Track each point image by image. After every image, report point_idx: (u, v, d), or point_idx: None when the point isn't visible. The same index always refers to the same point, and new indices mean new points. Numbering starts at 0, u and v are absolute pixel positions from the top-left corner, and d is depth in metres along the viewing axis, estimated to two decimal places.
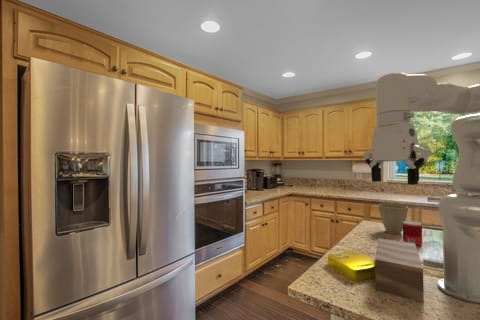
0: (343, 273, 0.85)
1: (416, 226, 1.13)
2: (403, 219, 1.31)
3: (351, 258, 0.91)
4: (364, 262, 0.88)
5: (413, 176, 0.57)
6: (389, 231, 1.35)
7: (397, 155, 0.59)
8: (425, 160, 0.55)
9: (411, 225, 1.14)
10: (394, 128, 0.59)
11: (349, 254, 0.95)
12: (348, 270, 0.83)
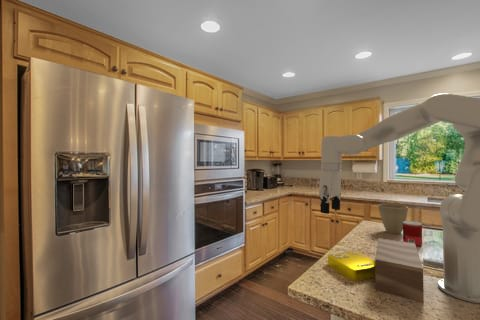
0: (343, 273, 0.85)
1: (416, 226, 1.13)
2: (403, 219, 1.31)
3: (351, 258, 0.91)
4: (364, 262, 0.88)
5: None
6: (389, 231, 1.35)
7: (339, 192, 0.89)
8: None
9: (411, 225, 1.14)
10: (339, 174, 0.89)
11: (349, 254, 0.95)
12: (348, 270, 0.83)
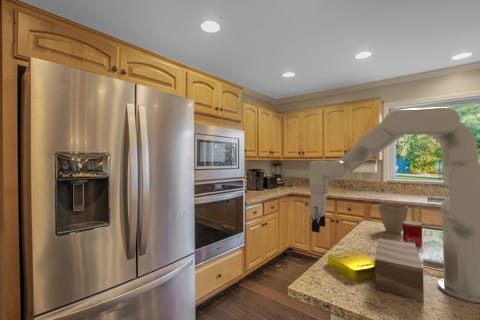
0: (343, 273, 0.85)
1: (416, 226, 1.13)
2: (403, 219, 1.31)
3: (351, 258, 0.91)
4: (364, 262, 0.88)
5: None
6: (389, 231, 1.35)
7: (325, 211, 0.99)
8: None
9: (411, 225, 1.14)
10: (325, 195, 0.98)
11: (349, 254, 0.95)
12: (348, 270, 0.83)
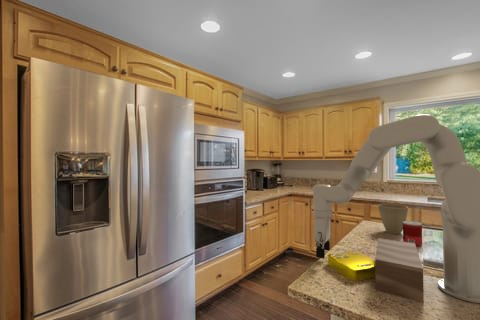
0: (343, 273, 0.85)
1: (416, 226, 1.13)
2: (403, 219, 1.30)
3: (351, 258, 0.91)
4: (364, 262, 0.88)
5: None
6: (389, 231, 1.35)
7: (329, 235, 0.98)
8: None
9: (411, 225, 1.14)
10: (329, 219, 0.97)
11: (349, 254, 0.95)
12: (348, 270, 0.83)
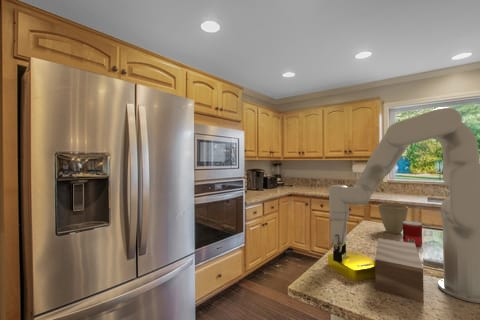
0: (343, 273, 0.85)
1: (416, 226, 1.13)
2: (403, 219, 1.31)
3: (351, 258, 0.91)
4: (364, 262, 0.88)
5: None
6: (389, 231, 1.35)
7: (346, 237, 0.94)
8: None
9: (411, 225, 1.14)
10: None
11: (349, 254, 0.95)
12: (348, 270, 0.83)
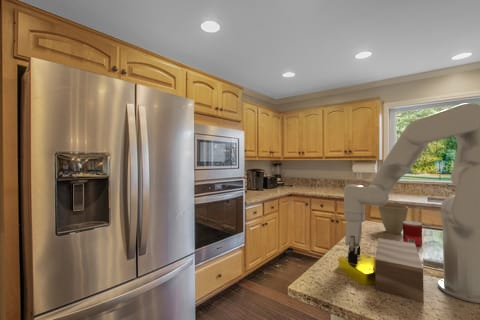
0: (354, 277, 0.83)
1: (416, 226, 1.13)
2: (403, 219, 1.30)
3: (363, 262, 0.88)
4: None
5: None
6: (389, 231, 1.35)
7: None
8: None
9: (411, 225, 1.14)
10: None
11: (361, 257, 0.92)
12: (359, 274, 0.80)
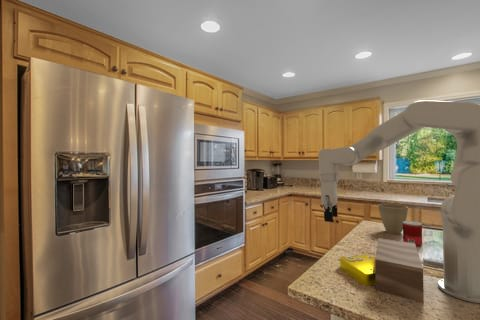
0: (355, 277, 0.83)
1: (416, 226, 1.13)
2: (403, 219, 1.31)
3: (365, 262, 0.88)
4: None
5: None
6: (389, 231, 1.35)
7: (336, 200, 0.96)
8: None
9: (411, 225, 1.14)
10: None
11: (363, 258, 0.92)
12: (360, 274, 0.80)
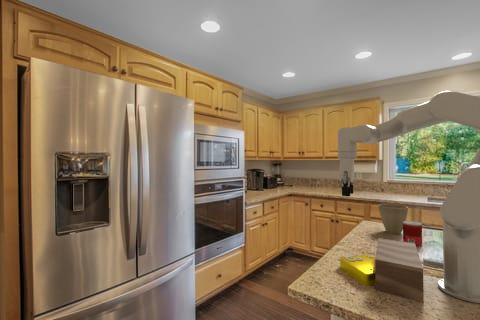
0: (355, 277, 0.83)
1: (416, 226, 1.13)
2: (403, 219, 1.31)
3: (365, 262, 0.88)
4: None
5: None
6: (389, 231, 1.35)
7: (353, 177, 1.01)
8: None
9: (411, 225, 1.14)
10: None
11: (363, 258, 0.92)
12: (360, 274, 0.80)
